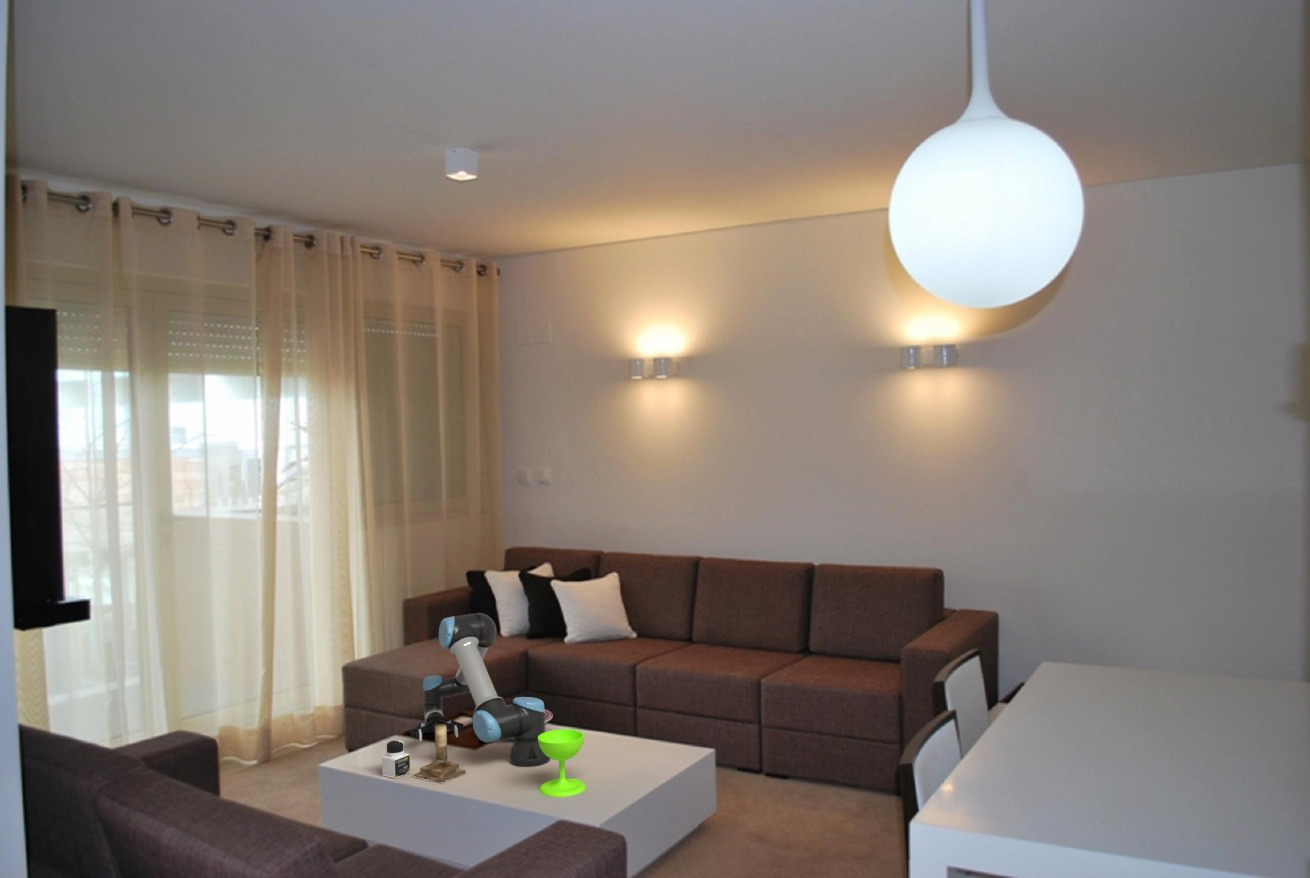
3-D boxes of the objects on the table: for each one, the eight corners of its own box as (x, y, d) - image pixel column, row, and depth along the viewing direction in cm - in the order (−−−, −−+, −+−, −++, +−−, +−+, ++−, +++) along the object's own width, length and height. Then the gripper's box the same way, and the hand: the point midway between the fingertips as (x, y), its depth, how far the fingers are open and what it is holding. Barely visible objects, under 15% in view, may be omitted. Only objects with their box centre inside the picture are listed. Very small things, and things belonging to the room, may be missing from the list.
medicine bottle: (395, 779, 346) (394, 746, 346) (381, 776, 349) (380, 743, 349) (410, 773, 352) (409, 740, 352) (396, 770, 356) (395, 737, 356)
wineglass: (588, 794, 325) (587, 741, 326) (541, 799, 322) (539, 745, 322) (582, 778, 341) (581, 727, 341) (537, 783, 338) (535, 731, 338)
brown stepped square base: (465, 773, 350) (465, 763, 350) (442, 783, 340) (442, 774, 340) (437, 767, 357) (437, 758, 357) (413, 777, 347) (413, 767, 347)
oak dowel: (449, 762, 363) (448, 725, 363) (441, 765, 359) (440, 728, 359) (441, 760, 365) (440, 723, 365) (433, 764, 361) (432, 726, 361)
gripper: (466, 726, 394) (472, 741, 374) (403, 733, 387) (405, 749, 367) (465, 708, 394) (471, 722, 374) (402, 715, 387) (405, 729, 367)
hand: (438, 735), depth 370 cm, fingers open, 13 cm apart
